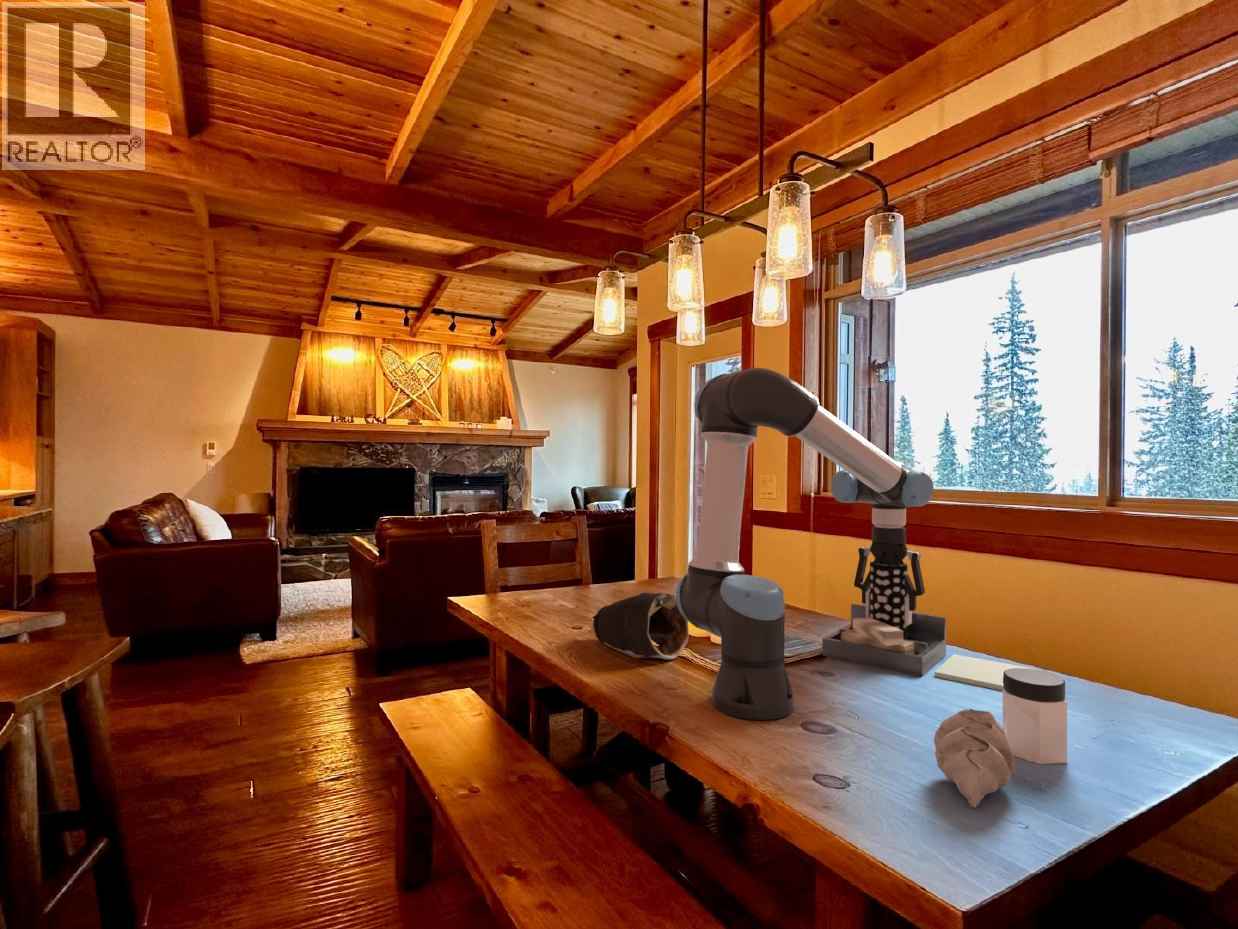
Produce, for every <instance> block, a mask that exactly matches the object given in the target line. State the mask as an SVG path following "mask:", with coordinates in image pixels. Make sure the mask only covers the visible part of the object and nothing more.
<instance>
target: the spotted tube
mask: <svg viewBox="0 0 1238 929" xmlns="http://www.w3.org/2000/svg"><path fill="white" fill-rule="evenodd" d="M873 562H874V560H873V561H870V562H869V571H870V589H869V590H870V618H872V619H874V620H877V621H880V622H882V623H885V624H887V625H890V626H892V627H895V628H898V629H900V630H903V639H907V625H905V597H906V596H908V593H907V591H906V589H905V587H904V574H905V575H907V574H908V575H909V572H908V571H909V570H908V568H909V566H908V565H909V564H908V563H905V562H904V565H902V564H900V565H902V566H895V565H889V564H880V563H879V564H876V563H873Z"/></svg>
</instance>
